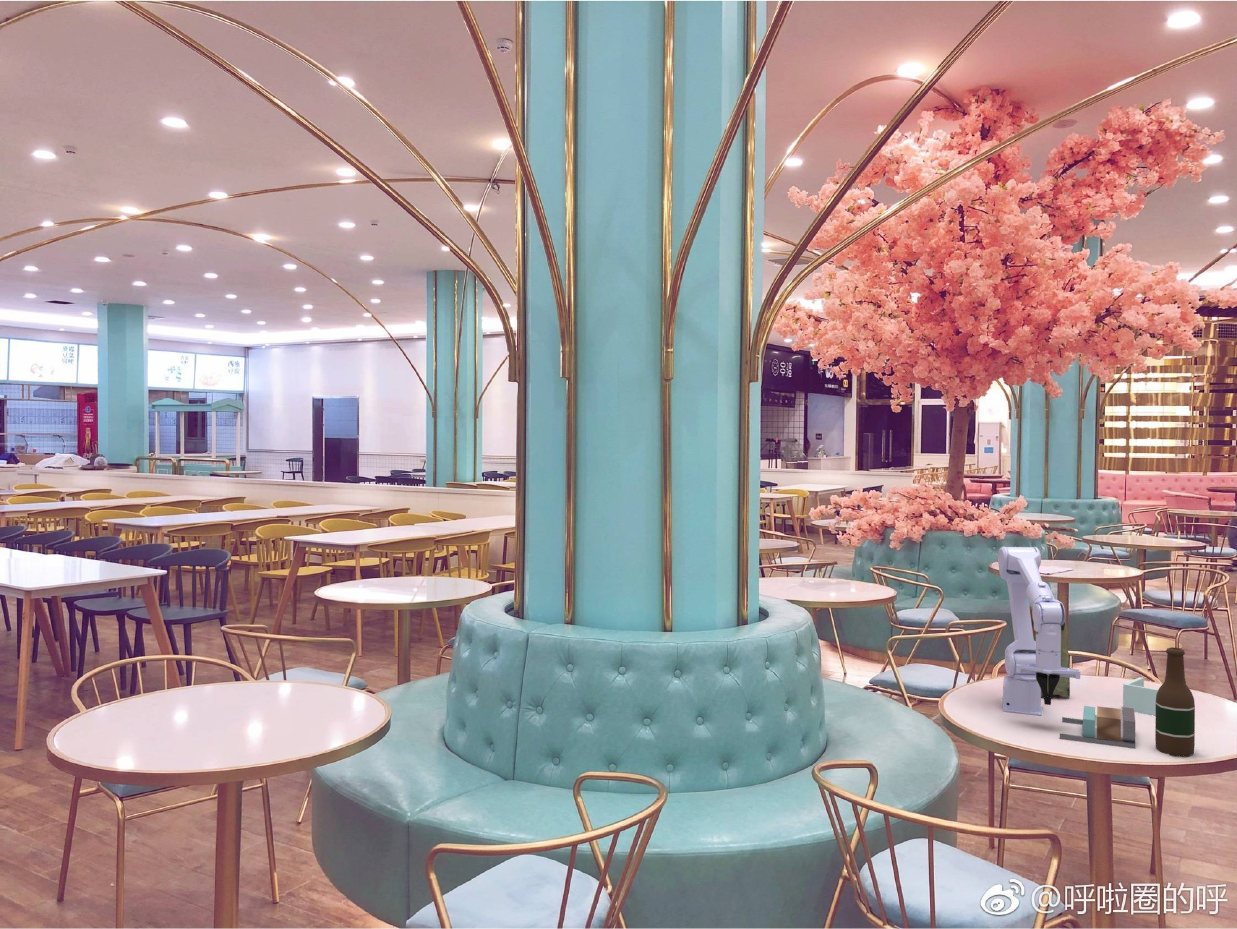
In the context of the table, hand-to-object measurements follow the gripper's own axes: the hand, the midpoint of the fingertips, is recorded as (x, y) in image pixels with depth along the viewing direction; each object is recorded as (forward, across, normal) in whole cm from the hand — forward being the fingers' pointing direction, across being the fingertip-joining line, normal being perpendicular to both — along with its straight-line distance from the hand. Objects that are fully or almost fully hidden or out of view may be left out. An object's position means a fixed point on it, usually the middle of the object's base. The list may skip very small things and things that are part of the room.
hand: (1047, 703), depth 232 cm
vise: (+6, +10, 0) cm, 12 cm away
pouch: (+7, -2, +35) cm, 36 cm away
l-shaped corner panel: (+7, +25, +32) cm, 41 cm away
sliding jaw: (+6, +9, 0) cm, 11 cm away
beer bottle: (+6, +27, -6) cm, 29 cm away
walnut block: (+6, +14, 0) cm, 15 cm away
